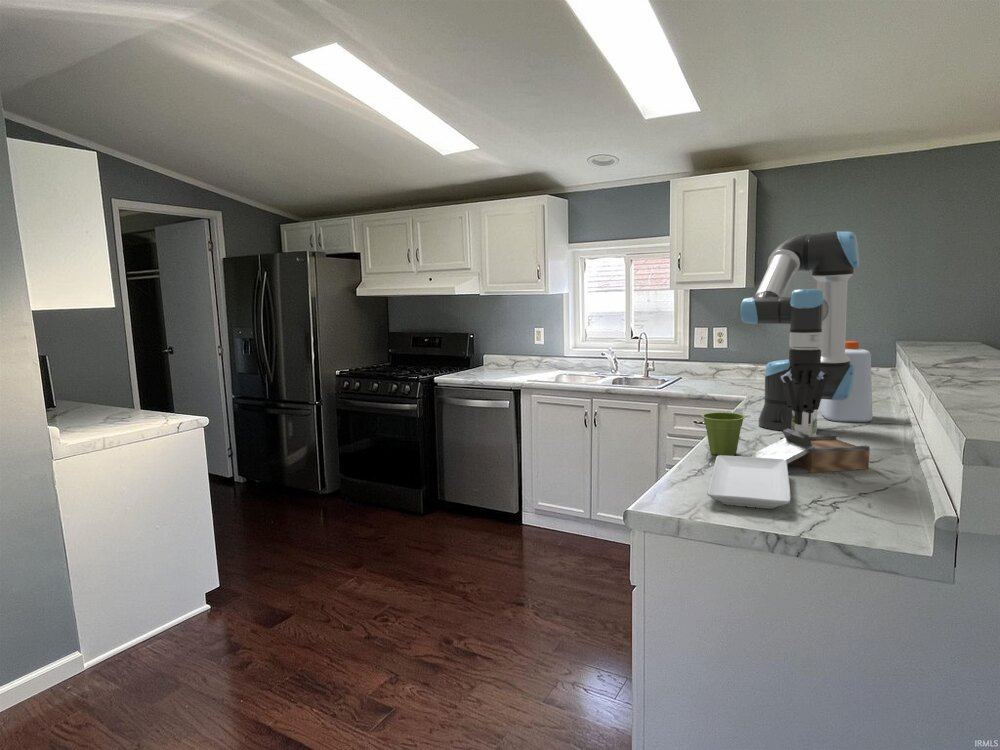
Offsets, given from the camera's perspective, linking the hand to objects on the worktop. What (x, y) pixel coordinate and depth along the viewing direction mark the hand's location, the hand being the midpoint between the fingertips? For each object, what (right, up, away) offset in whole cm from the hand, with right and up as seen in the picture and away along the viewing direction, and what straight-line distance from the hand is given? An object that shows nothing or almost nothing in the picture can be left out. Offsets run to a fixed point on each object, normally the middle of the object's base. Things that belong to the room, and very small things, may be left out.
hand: (802, 436), depth 160 cm
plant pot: (-16, -7, +15) cm, 23 cm away
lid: (-6, -5, 0) cm, 8 cm away
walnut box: (+6, -8, +2) cm, 10 cm away
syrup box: (+9, -6, +17) cm, 20 cm away
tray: (-22, -11, -18) cm, 30 cm away
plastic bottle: (+45, 0, +58) cm, 73 cm away
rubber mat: (-10, -8, 0) cm, 13 cm away
